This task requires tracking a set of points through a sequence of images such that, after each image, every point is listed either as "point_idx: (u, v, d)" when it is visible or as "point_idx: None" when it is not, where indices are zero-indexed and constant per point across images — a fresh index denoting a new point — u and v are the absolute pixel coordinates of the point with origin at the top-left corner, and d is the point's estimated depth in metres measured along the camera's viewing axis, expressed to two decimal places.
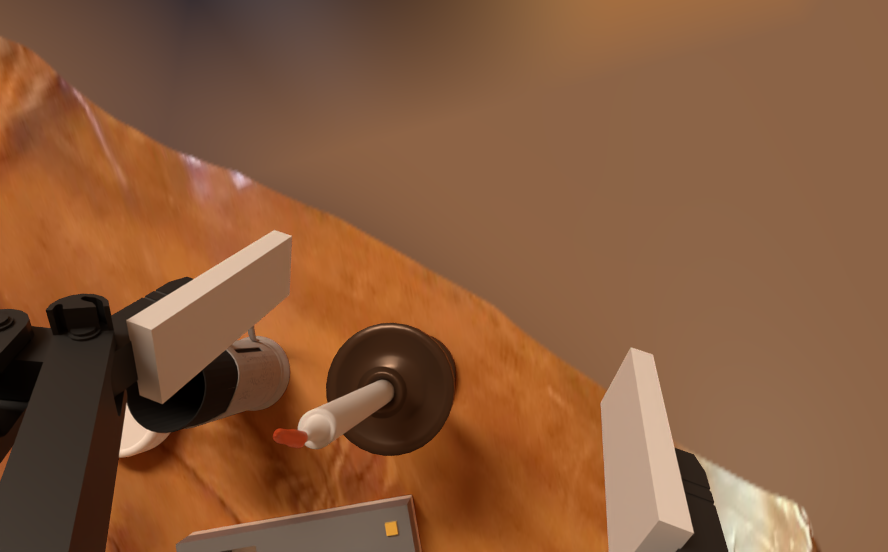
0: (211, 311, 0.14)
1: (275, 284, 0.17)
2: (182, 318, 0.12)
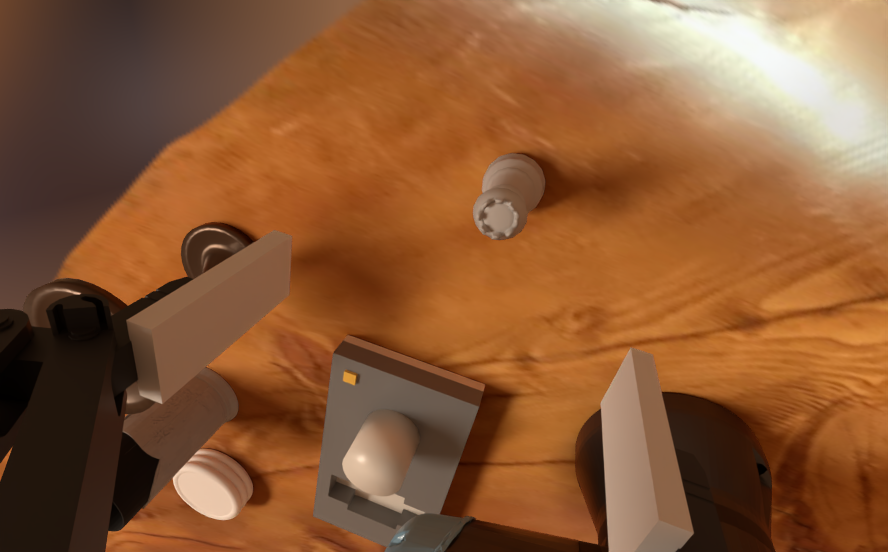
0: (211, 311, 0.14)
1: (275, 284, 0.17)
2: (182, 318, 0.12)
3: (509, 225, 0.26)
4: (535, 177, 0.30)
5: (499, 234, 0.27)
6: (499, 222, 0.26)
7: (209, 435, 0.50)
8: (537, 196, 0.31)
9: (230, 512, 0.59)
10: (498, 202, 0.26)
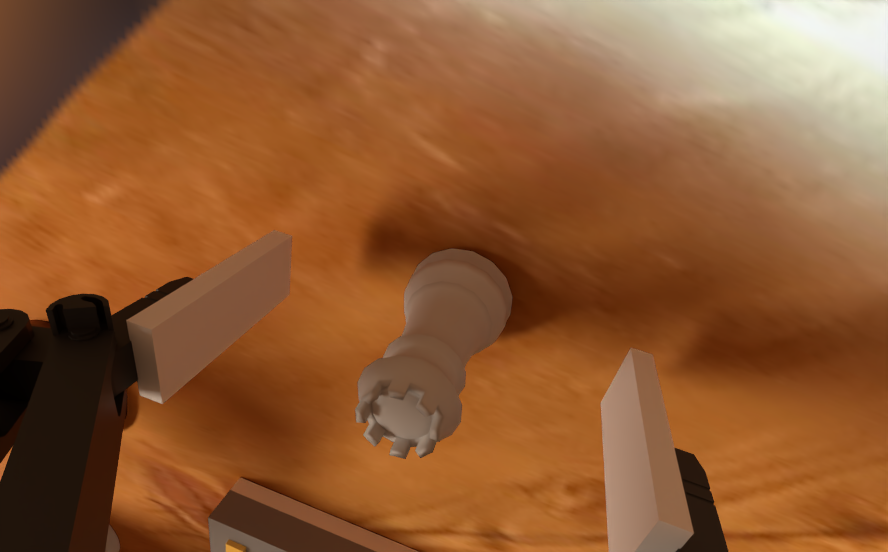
0: (211, 311, 0.14)
1: (275, 284, 0.17)
2: (182, 318, 0.12)
3: (424, 431, 0.13)
4: (491, 297, 0.17)
5: (406, 446, 0.13)
6: (404, 425, 0.13)
7: None
8: (496, 327, 0.17)
9: None
10: (395, 396, 0.12)
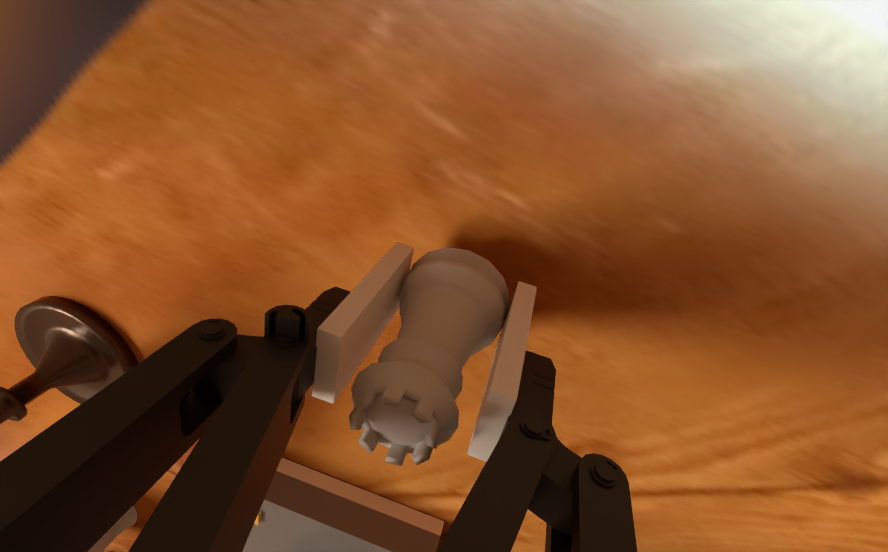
0: (368, 319, 0.15)
1: (399, 292, 0.18)
2: (355, 326, 0.14)
3: (420, 437, 0.13)
4: (488, 297, 0.17)
5: (402, 452, 0.13)
6: (399, 431, 0.13)
7: None
8: (494, 328, 0.17)
9: None
10: (389, 403, 0.12)
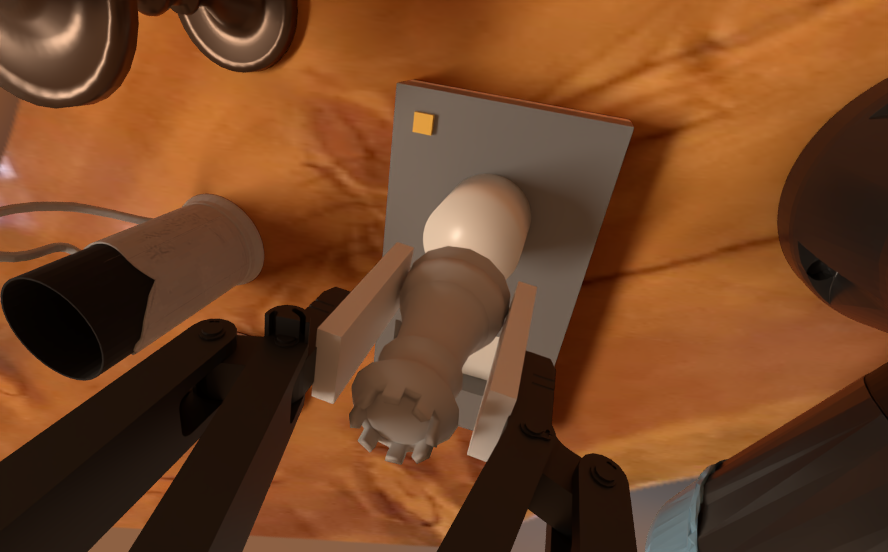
0: (368, 319, 0.15)
1: (399, 292, 0.18)
2: (355, 326, 0.14)
3: (421, 436, 0.12)
4: (489, 296, 0.17)
5: (403, 451, 0.13)
6: (399, 430, 0.12)
7: (226, 279, 0.37)
8: (494, 327, 0.17)
9: None
10: (389, 401, 0.12)
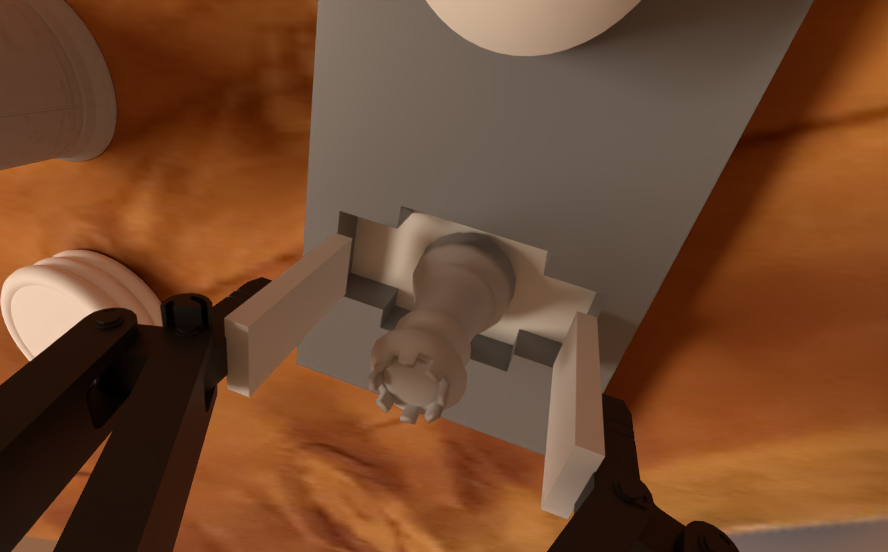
0: (290, 310, 0.14)
1: (336, 284, 0.18)
2: (270, 316, 0.13)
3: (432, 398, 0.14)
4: (495, 278, 0.18)
5: (415, 413, 0.14)
6: (413, 392, 0.14)
7: (18, 120, 0.19)
8: (500, 307, 0.18)
9: None
10: (405, 364, 0.13)
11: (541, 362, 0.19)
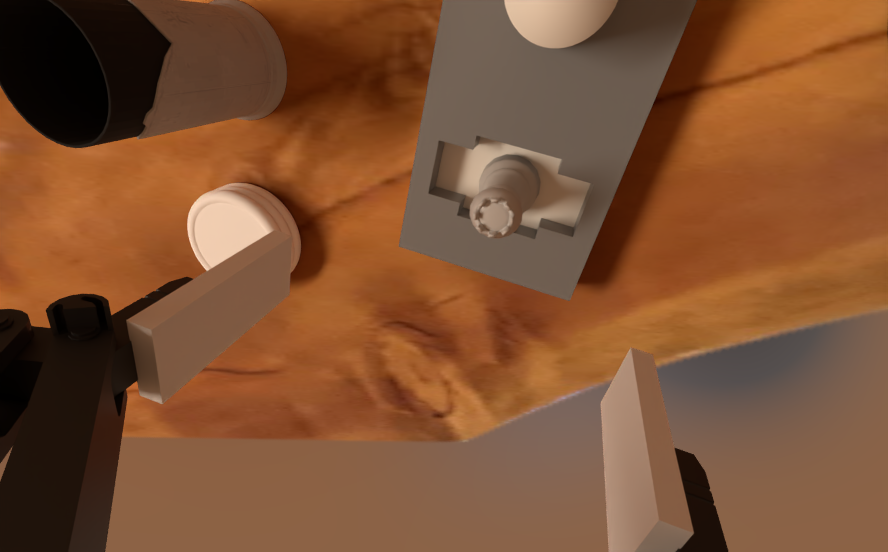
0: (211, 311, 0.14)
1: (275, 284, 0.17)
2: (182, 318, 0.12)
3: (505, 224, 0.27)
4: (530, 177, 0.31)
5: (495, 233, 0.27)
6: (495, 221, 0.27)
7: (246, 88, 0.32)
8: (532, 196, 0.32)
9: None
10: (493, 201, 0.26)
11: (555, 231, 0.32)
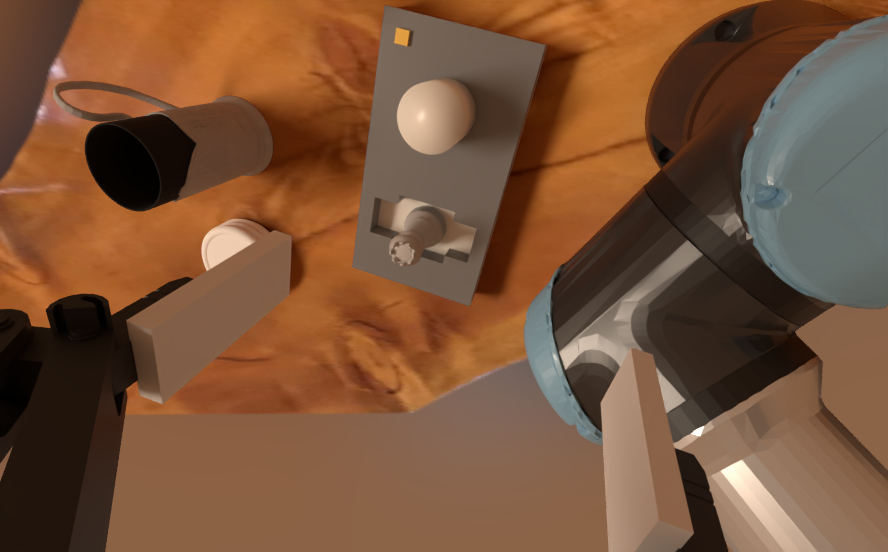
0: (211, 311, 0.14)
1: (275, 284, 0.17)
2: (182, 318, 0.12)
3: (410, 257, 0.42)
4: (436, 222, 0.46)
5: (404, 263, 0.42)
6: (404, 255, 0.42)
7: (244, 160, 0.47)
8: (438, 235, 0.46)
9: None
10: (401, 244, 0.41)
11: (456, 258, 0.47)
